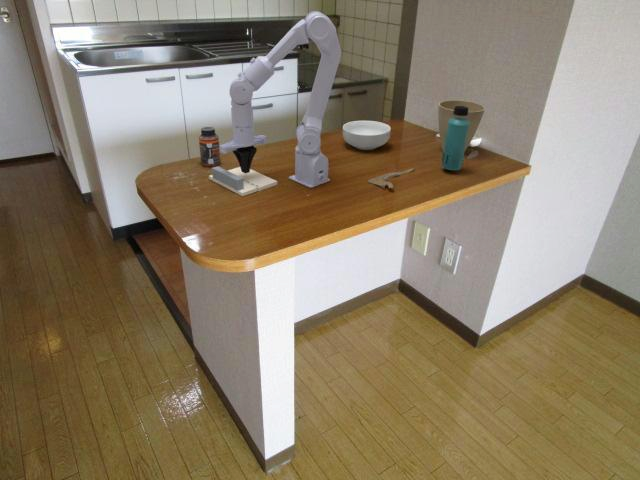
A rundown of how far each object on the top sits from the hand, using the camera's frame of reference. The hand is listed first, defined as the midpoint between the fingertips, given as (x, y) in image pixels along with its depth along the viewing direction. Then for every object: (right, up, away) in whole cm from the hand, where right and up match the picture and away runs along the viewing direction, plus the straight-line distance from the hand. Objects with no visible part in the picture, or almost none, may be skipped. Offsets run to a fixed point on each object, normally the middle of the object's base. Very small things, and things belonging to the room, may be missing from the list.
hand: (245, 171), depth 131 cm
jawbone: (+45, -2, +5) cm, 45 cm away
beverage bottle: (+62, +2, +12) cm, 63 cm away
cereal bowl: (+37, +13, +31) cm, 50 cm away
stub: (-3, -4, -2) cm, 5 cm away
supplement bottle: (-13, +4, +12) cm, 18 cm away
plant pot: (+68, +11, +28) cm, 74 cm away
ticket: (+1, -2, +2) cm, 3 cm away
